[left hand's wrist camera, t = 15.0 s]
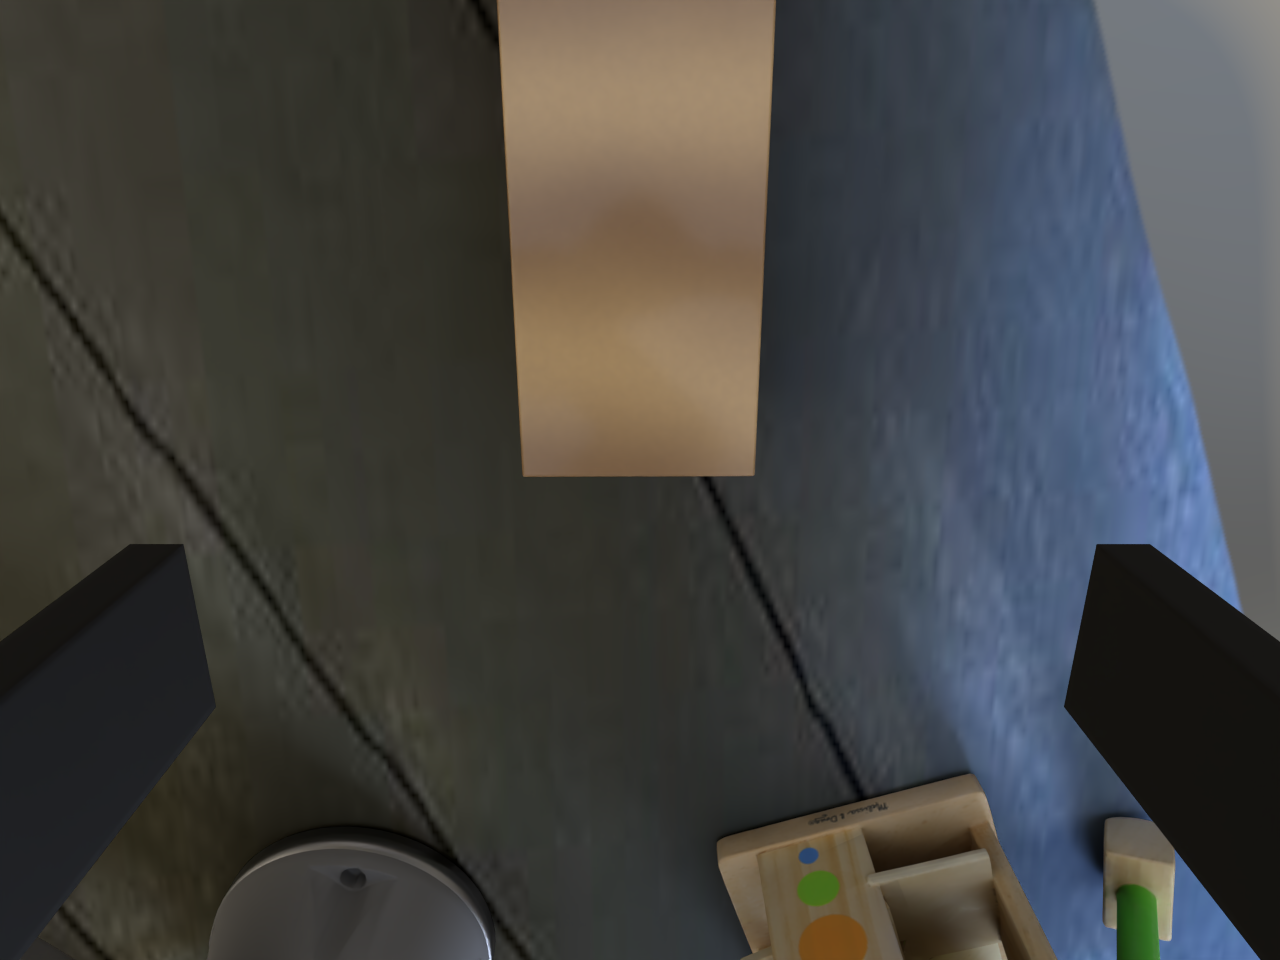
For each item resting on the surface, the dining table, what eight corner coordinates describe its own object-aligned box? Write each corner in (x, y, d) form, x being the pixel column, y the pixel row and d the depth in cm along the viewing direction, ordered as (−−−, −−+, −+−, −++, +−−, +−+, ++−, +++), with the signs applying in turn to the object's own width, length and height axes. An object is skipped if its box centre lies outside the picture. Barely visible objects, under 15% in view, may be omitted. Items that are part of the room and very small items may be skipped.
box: (725, 395, 38) (755, 476, 28) (552, 396, 38) (522, 477, 28) (750, -403, 29) (807, -695, 19) (520, -402, 29) (458, -694, 19)
